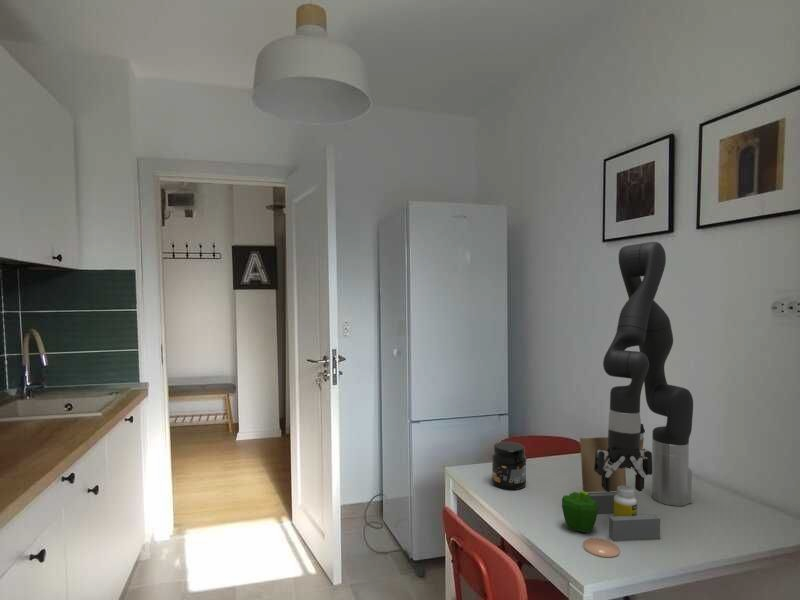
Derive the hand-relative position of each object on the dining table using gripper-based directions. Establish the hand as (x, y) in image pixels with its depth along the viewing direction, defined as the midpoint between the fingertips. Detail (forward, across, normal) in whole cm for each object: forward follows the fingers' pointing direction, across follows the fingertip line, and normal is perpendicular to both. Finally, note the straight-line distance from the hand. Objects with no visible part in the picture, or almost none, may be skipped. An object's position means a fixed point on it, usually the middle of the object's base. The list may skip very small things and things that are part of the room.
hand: (622, 490), depth 125 cm
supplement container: (+10, +21, -28) cm, 37 cm away
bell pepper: (+10, +12, 0) cm, 15 cm away
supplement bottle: (+9, -1, 0) cm, 9 cm away
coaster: (+9, +10, +10) cm, 18 cm away
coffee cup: (+9, -26, -41) cm, 49 cm away
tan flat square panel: (-4, +1, -9) cm, 10 cm away
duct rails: (+9, 0, -1) cm, 9 cm away
